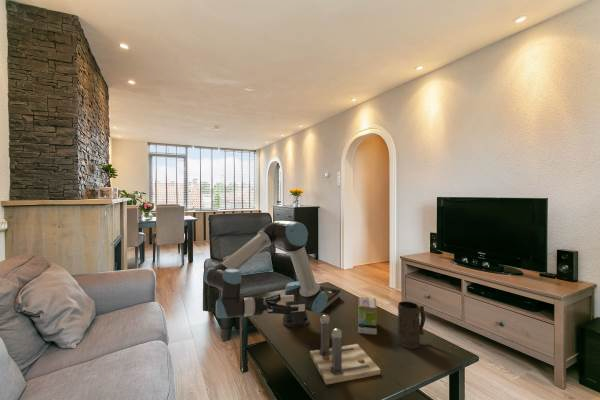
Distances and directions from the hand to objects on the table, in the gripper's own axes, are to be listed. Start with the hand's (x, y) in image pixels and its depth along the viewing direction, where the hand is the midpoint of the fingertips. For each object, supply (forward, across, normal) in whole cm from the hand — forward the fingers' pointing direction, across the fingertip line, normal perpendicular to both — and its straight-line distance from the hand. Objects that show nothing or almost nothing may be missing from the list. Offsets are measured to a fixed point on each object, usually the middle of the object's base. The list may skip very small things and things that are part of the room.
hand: (298, 302), depth 129 cm
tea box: (+48, -13, -22) cm, 54 cm away
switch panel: (+18, +12, -24) cm, 32 cm away
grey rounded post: (+11, +18, -23) cm, 31 cm away
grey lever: (+12, +4, -22) cm, 26 cm away
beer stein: (+59, +8, -21) cm, 64 cm away
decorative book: (+41, -57, -21) cm, 73 cm away
